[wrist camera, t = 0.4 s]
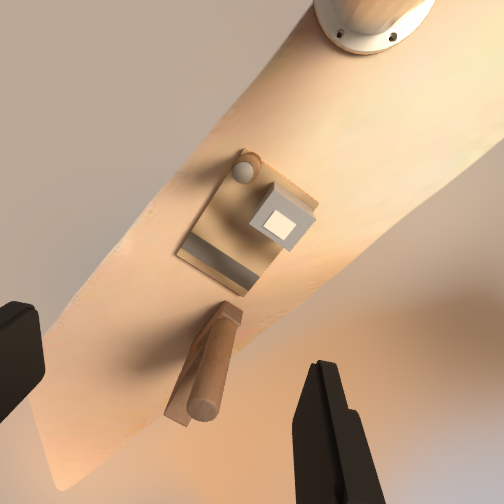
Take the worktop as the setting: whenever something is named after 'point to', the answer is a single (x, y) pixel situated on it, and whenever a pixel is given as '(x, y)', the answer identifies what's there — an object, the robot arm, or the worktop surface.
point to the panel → (236, 232)
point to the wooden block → (205, 369)
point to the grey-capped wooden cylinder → (246, 168)
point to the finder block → (282, 217)
